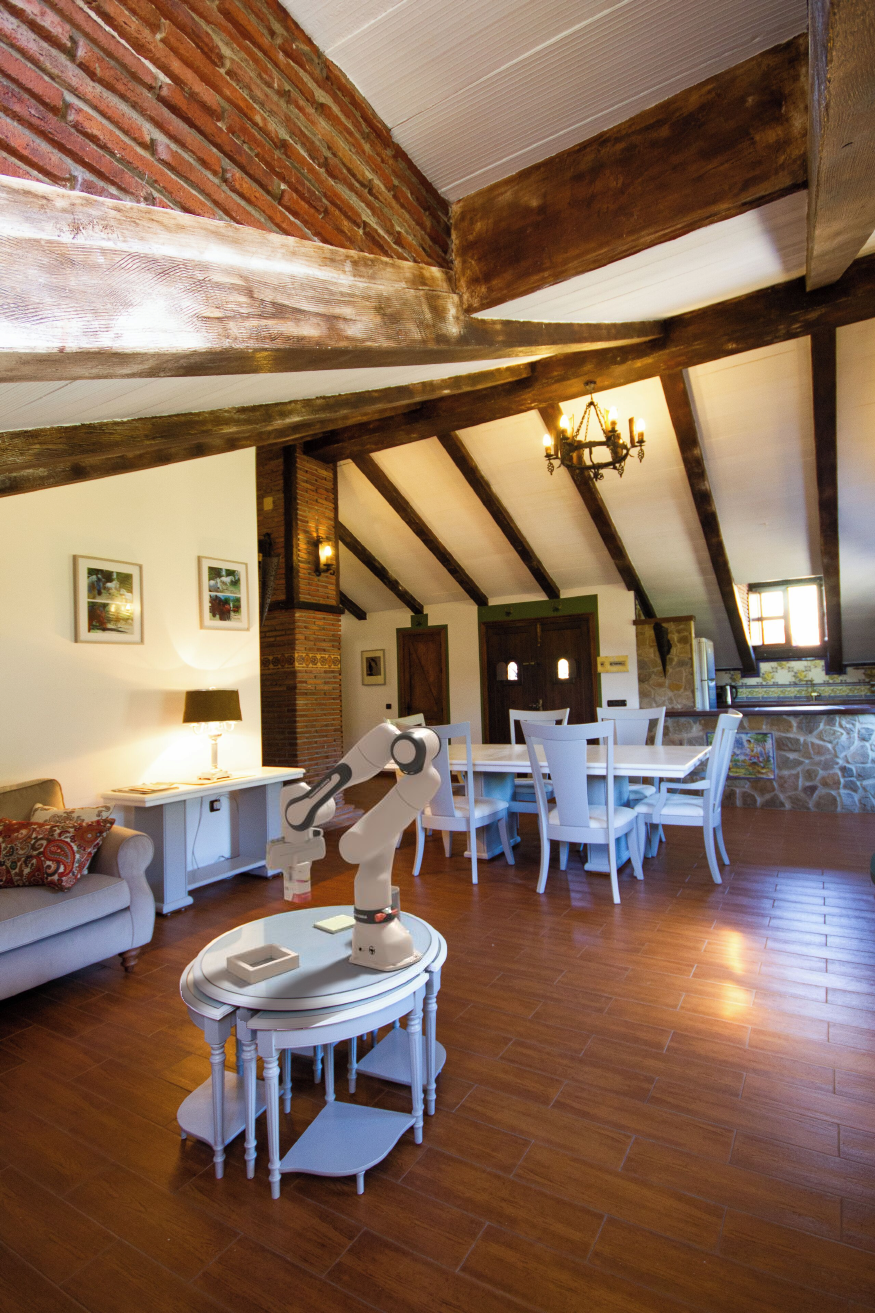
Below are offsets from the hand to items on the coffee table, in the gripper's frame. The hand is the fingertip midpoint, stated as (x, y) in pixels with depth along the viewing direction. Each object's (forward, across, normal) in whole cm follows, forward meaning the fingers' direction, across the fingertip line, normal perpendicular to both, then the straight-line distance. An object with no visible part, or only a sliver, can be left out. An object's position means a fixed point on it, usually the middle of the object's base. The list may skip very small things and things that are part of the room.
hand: (297, 878), depth 205 cm
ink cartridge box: (+7, 0, 0) cm, 7 cm away
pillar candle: (+22, +26, -12) cm, 35 cm away
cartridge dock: (+21, -16, -6) cm, 27 cm away
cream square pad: (+21, +20, +7) cm, 30 cm away
